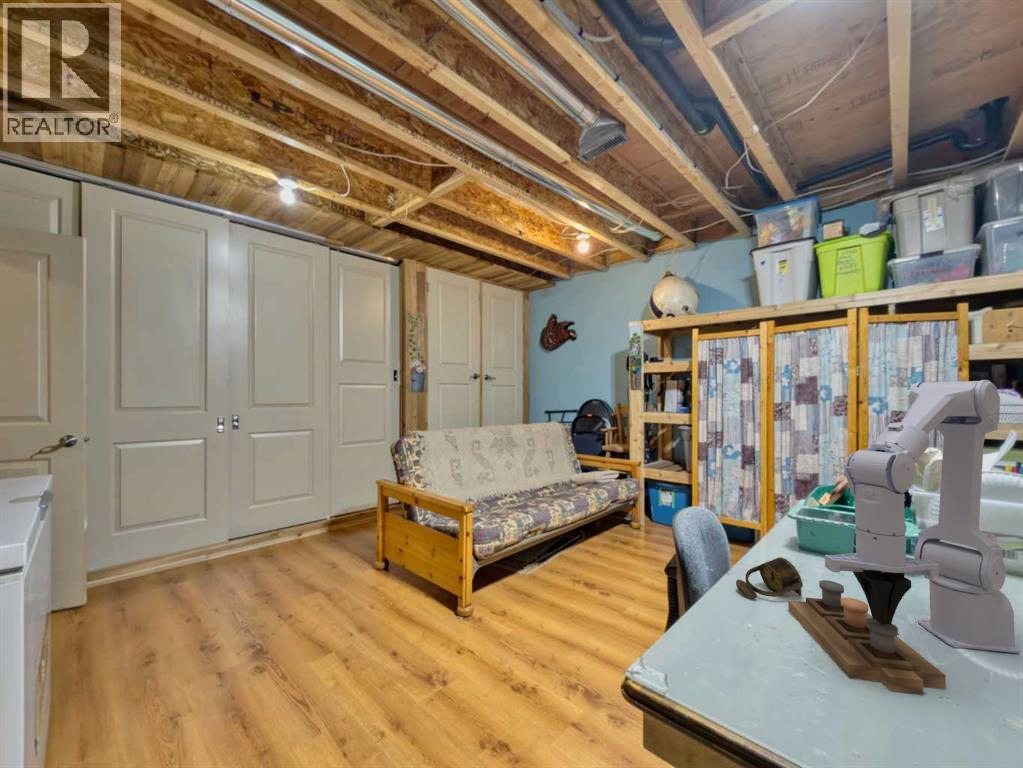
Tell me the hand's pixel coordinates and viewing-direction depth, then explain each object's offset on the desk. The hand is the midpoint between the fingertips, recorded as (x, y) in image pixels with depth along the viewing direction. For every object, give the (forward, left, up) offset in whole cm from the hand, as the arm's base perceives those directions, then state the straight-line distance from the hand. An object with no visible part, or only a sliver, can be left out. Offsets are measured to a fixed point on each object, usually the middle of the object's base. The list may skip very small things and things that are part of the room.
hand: (881, 621), depth 64 cm
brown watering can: (+7, -25, -8) cm, 27 cm away
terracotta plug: (0, -7, -4) cm, 8 cm away
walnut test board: (0, -7, -7) cm, 10 cm away
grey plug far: (0, -14, -4) cm, 15 cm away
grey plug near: (0, 0, -4) cm, 4 cm away
